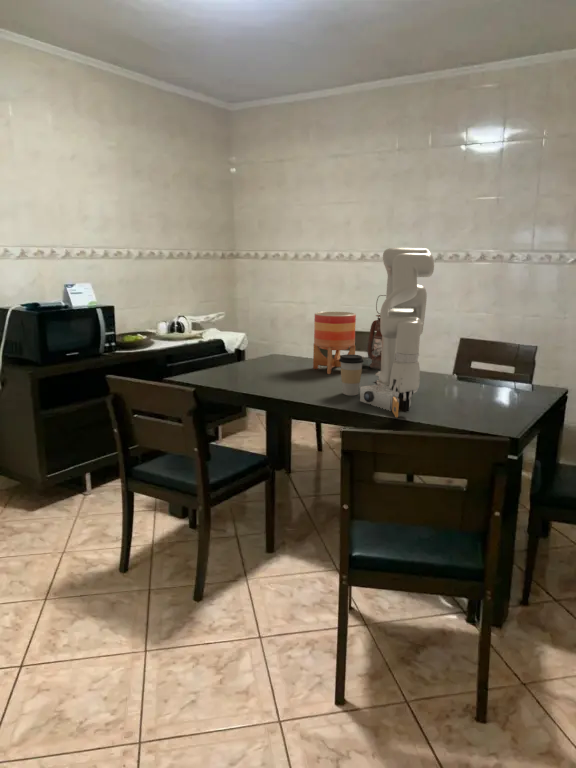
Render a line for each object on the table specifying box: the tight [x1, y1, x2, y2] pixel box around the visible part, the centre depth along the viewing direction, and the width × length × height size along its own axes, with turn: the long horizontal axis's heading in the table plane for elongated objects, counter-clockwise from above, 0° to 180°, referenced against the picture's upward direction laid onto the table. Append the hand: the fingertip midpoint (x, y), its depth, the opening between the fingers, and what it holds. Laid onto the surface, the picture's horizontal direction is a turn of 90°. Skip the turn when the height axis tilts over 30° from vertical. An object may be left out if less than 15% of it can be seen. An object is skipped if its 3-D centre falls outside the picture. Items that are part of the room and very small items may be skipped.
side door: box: [392, 396, 399, 418], centre depth 191 cm, size 1×9×5 cm, turn 178°
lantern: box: [366, 294, 393, 370], centre depth 270 cm, size 11×16×35 cm
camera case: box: [359, 383, 412, 412], centre depth 204 cm, size 16×11×6 cm
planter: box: [312, 311, 357, 375], centre depth 264 cm, size 20×20×27 cm
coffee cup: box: [339, 354, 364, 396], centre depth 219 cm, size 9×9×15 cm
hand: (403, 410), depth 190 cm, fingers closed
